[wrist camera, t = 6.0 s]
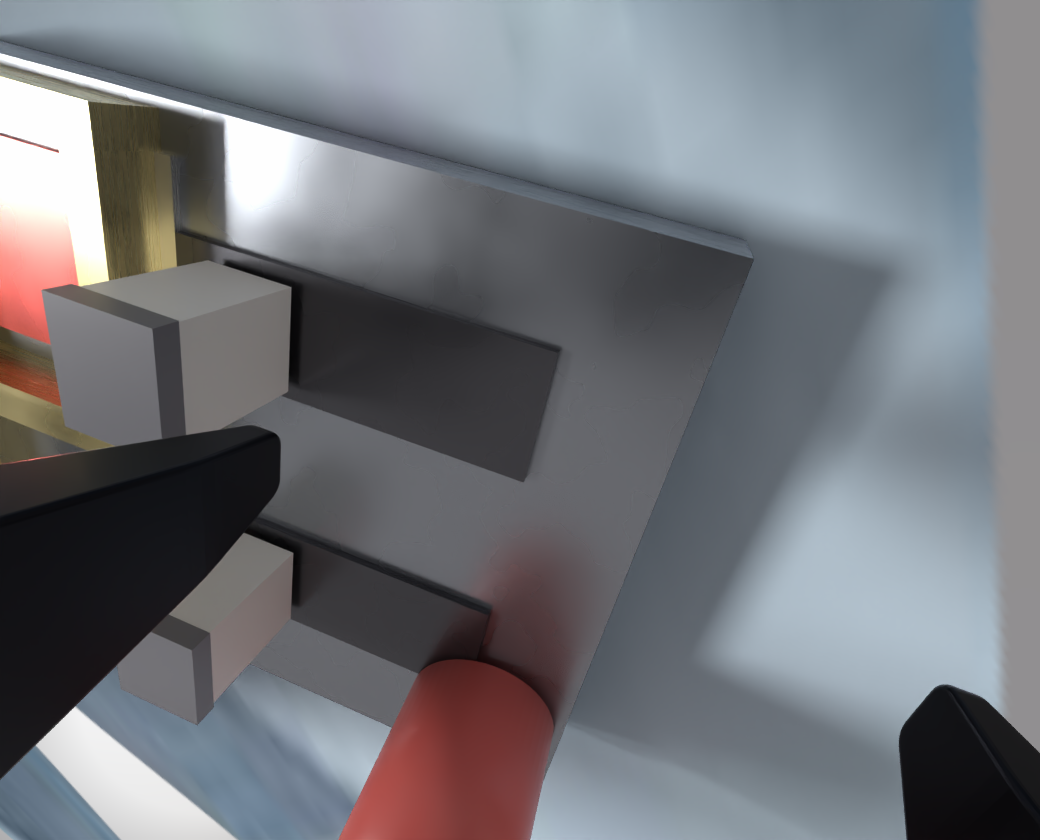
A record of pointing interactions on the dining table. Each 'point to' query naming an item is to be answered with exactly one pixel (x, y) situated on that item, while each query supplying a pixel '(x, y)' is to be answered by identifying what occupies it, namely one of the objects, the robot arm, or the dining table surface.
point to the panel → (384, 364)
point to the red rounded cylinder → (458, 760)
